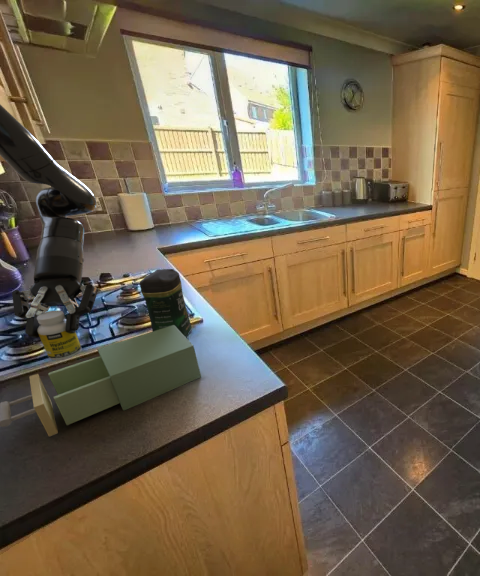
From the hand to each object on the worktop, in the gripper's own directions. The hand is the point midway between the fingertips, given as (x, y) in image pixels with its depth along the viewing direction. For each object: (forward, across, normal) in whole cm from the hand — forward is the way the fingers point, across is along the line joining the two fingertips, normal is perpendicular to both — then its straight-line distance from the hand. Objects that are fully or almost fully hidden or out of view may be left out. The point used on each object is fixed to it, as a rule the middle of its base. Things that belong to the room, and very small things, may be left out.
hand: (52, 334), depth 68 cm
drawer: (+16, +5, 0) cm, 17 cm away
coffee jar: (-1, +18, +18) cm, 25 cm away
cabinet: (+12, +17, +4) cm, 22 cm away
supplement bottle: (+3, 0, +6) cm, 7 cm away
